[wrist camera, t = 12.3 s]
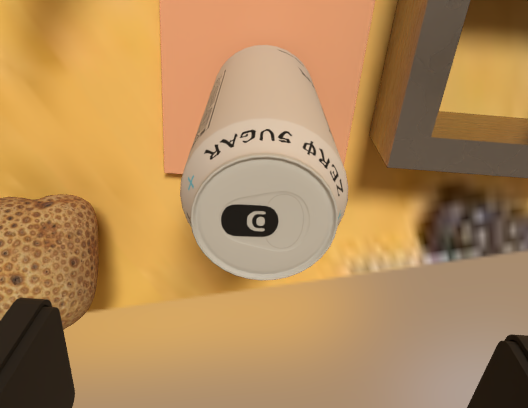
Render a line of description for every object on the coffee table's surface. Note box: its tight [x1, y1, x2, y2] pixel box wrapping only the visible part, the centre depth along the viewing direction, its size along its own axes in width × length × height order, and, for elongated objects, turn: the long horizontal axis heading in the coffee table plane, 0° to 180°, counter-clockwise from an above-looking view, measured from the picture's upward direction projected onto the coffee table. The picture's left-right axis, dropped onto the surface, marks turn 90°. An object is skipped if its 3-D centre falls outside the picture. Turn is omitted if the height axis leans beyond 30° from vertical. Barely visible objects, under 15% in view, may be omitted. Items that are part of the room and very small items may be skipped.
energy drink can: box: [180, 45, 348, 280], centre depth 21 cm, size 6×6×15 cm
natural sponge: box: [0, 195, 99, 330], centre depth 29 cm, size 9×9×10 cm
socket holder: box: [369, 0, 528, 178], centre depth 25 cm, size 13×13×5 cm
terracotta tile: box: [160, 0, 375, 174], centre depth 28 cm, size 12×12×1 cm
